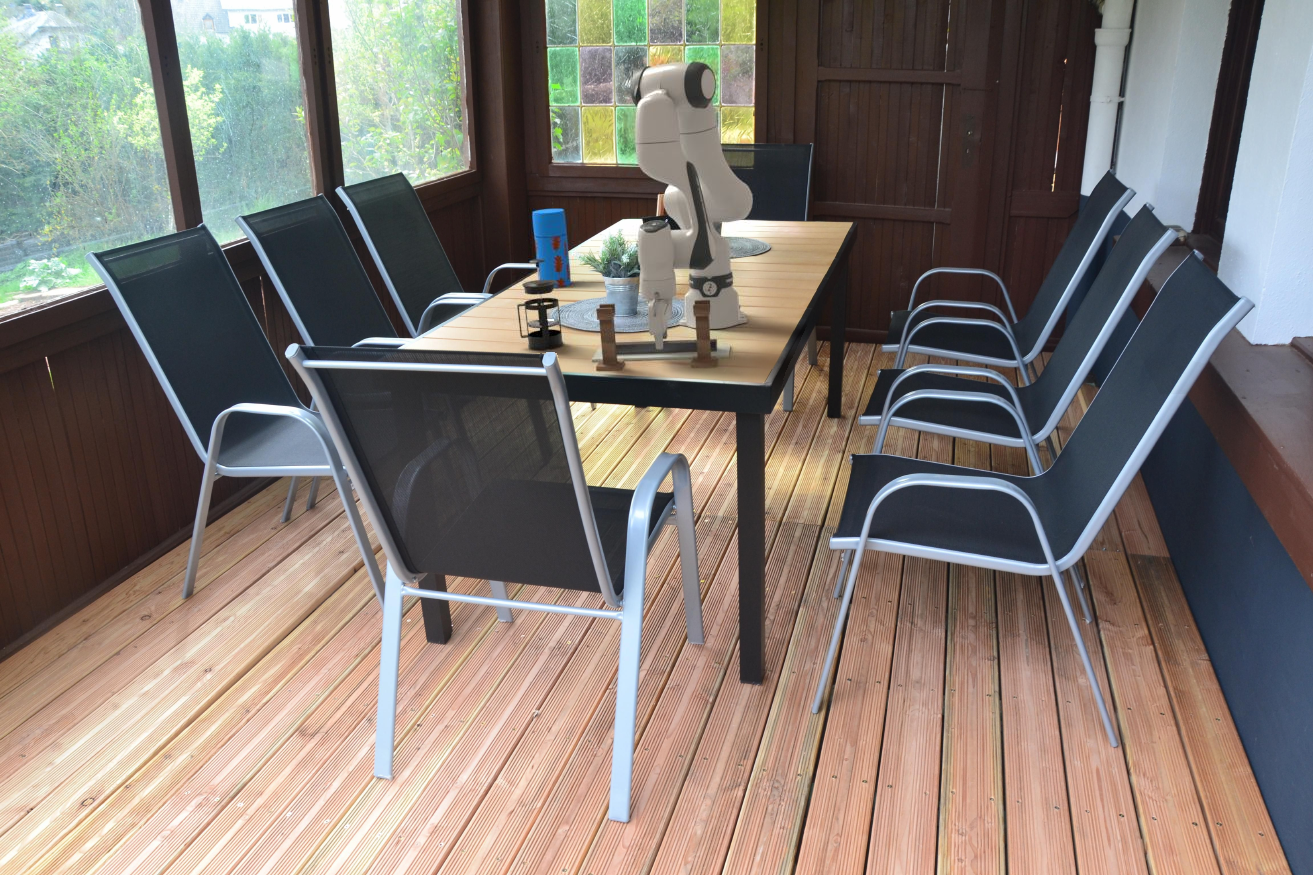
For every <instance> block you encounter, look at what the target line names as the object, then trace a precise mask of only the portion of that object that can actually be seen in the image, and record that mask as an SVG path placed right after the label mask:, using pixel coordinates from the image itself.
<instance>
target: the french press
mask: <svg viewBox="0 0 1313 875" xmlns="http://www.w3.org/2000/svg"><path fill="white" fill-rule="evenodd" d="M544 261H545V260H543V259H537V258H536V259H531V260H529V262H528V263H530V264H535V268H536V269H537V280H536V279H535V280H531V281H526V282H524V283H522V287H523V288H524V293H525V294H526V295H539V297H537V298H533V299H528V300H526V301H524V303H517V305H516V308H517V309H516V310H517V317H518V324H519V325H518V326H519V334H520V338H521V339H528V341H527V342H528V345H527V348H528V349H530V350H533V351H548V350H547V349H550V350H554V349H559V348H561V347H563V345H564V341H563V334H562V324H561V313H560V304H559V299H558V298H555V297H542V295H545V294H550V293H552V292H553V291H554V289H555V288H554V286H555V284H556V283H557V282H556V281H555V280H540V277H539V263H541V262H544ZM520 307H524V314H525V322H526V332H527V334H524V335H523V334H522V330H523V329H522V323H521V314H520ZM555 308H557V312H558V319H556V318H549V317H548V310H551V309H552V310H553V309H555ZM527 311H537V313H538V315H537V316H538V319H533V320H531V321H528V314H527ZM558 325H559V329H551V327H555V326H558ZM529 328H533V329H538V330H534V331H531V332H529Z"/></svg>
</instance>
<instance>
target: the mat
mask: <svg viewBox="0 0 1313 875" xmlns="http://www.w3.org/2000/svg"><path fill="white" fill-rule="evenodd" d="M730 351H731V344H717V351H713V352H711V356H718V359H722V358H724V359H725V358H727V359H728V358H729V357H730ZM693 357H697V352H681V353H649V354H617V359H624V362H625V361H629V362H630V361H654V360H655V361H660V360H689V359H690V360H692V359H693ZM600 360H603V357H602V348H598V349H597V350H596V352H594V355H593V356H592V358H591V362H596V363H597V362H599V361H600Z"/></svg>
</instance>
